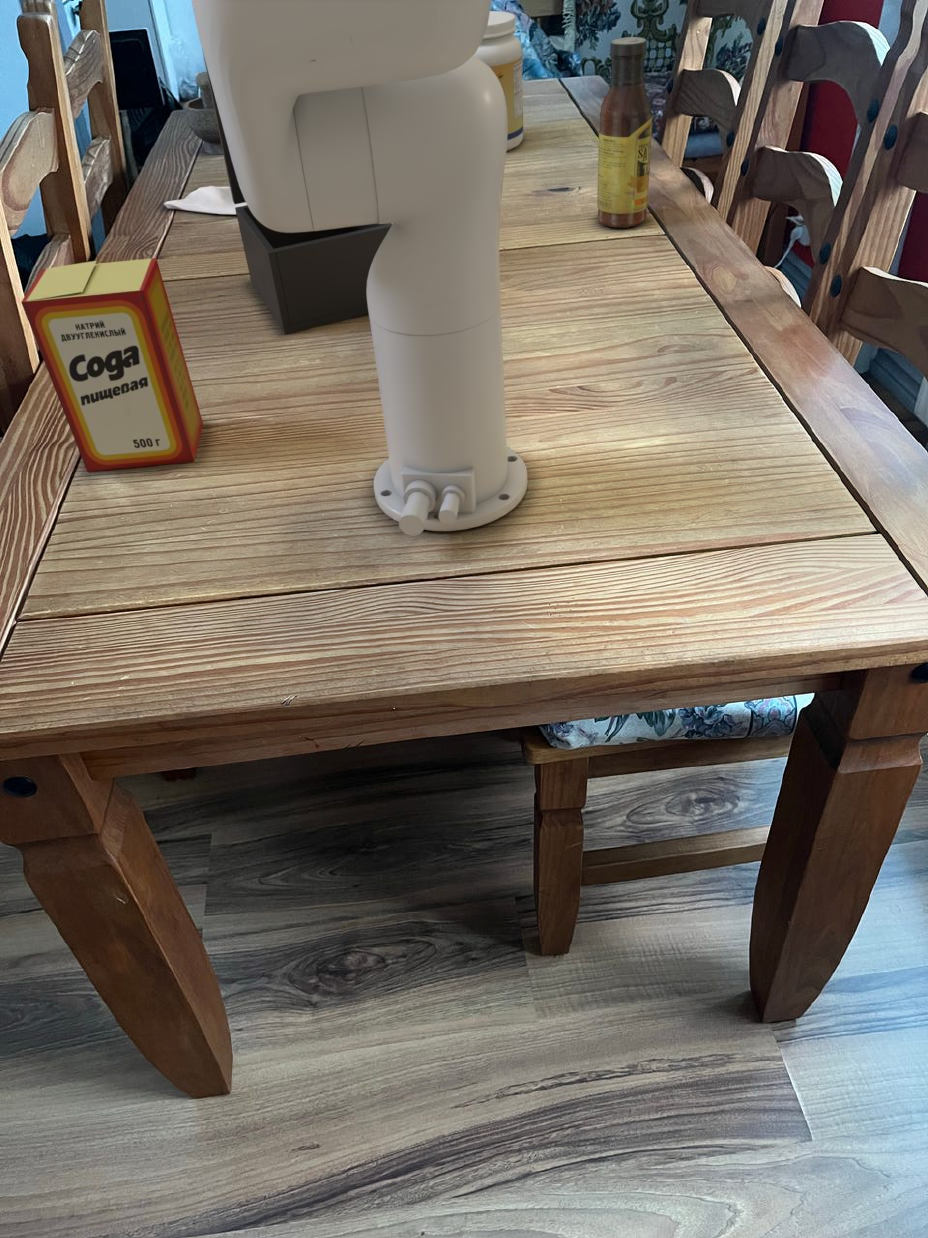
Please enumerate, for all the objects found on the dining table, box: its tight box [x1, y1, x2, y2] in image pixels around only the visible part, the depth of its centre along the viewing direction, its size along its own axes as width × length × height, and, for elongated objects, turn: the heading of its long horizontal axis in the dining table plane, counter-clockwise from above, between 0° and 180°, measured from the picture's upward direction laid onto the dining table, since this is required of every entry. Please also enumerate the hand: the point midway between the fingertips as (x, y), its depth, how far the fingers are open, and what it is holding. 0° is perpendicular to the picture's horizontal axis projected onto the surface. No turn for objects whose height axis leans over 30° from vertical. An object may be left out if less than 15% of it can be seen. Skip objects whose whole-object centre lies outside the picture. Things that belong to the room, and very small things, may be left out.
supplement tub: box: [473, 10, 525, 152], centre depth 143 cm, size 12×12×17 cm
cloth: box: [162, 185, 247, 216], centre depth 136 cm, size 26×14×2 cm, turn 91°
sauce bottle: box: [596, 36, 654, 229], centre depth 115 cm, size 7×6×20 cm
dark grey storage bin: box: [235, 205, 393, 335], centre depth 107 cm, size 16×14×9 cm
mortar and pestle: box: [183, 71, 223, 155], centre depth 152 cm, size 11×9×12 cm
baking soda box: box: [20, 257, 204, 473], centre depth 82 cm, size 10×6×16 cm
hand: (383, 97), depth 89 cm, fingers closed on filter, 5 cm apart
